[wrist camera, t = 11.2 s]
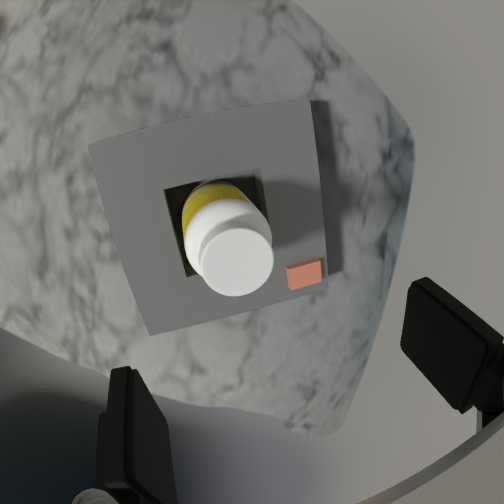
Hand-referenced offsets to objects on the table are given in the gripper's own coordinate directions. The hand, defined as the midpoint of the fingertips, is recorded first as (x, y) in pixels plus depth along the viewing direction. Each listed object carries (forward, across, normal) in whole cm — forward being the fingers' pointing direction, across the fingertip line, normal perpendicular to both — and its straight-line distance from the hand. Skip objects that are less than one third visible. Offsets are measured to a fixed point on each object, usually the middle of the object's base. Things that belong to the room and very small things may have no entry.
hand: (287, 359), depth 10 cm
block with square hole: (+18, 0, +1) cm, 18 cm away
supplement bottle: (+18, 0, +1) cm, 18 cm away
